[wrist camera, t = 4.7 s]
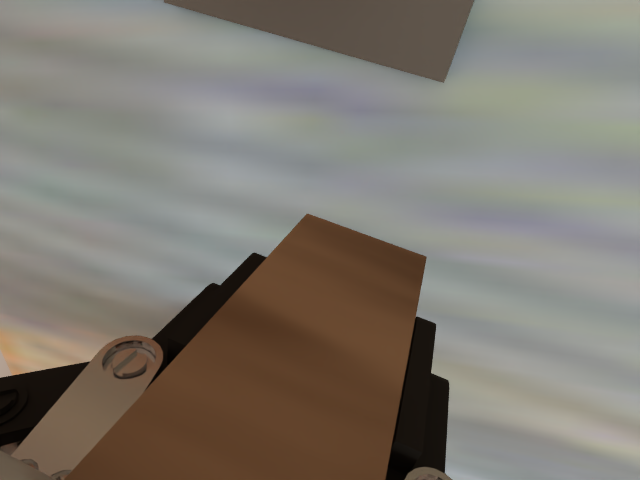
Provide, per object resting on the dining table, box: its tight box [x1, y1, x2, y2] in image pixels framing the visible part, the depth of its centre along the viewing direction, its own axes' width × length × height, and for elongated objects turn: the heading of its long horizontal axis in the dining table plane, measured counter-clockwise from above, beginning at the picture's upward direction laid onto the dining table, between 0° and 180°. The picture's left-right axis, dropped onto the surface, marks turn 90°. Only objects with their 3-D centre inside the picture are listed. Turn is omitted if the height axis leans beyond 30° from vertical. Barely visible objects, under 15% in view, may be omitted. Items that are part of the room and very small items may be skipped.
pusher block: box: [64, 214, 427, 480], centre depth 9 cm, size 4×4×10 cm
